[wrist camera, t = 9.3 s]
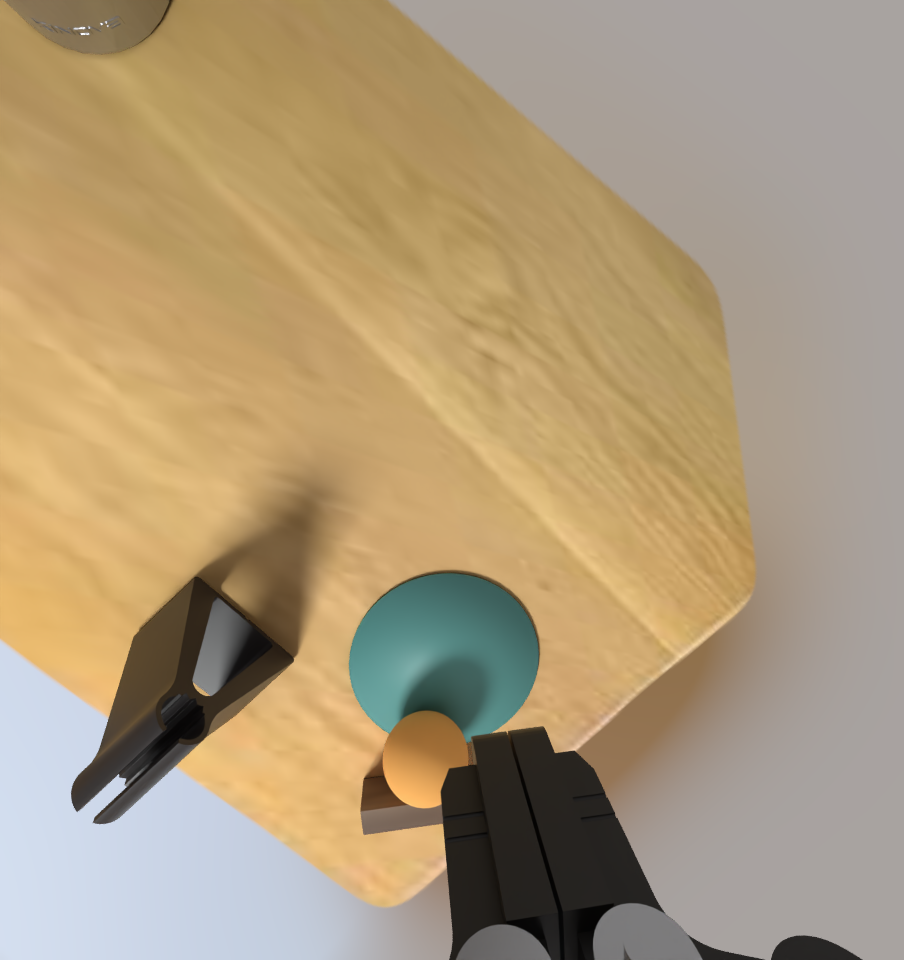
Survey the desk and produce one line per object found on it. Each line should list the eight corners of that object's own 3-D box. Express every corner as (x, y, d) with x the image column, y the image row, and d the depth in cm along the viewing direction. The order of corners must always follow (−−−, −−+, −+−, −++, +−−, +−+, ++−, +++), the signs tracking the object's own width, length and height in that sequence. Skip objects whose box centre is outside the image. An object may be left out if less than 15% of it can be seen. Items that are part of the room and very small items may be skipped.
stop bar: (363, 778, 39) (360, 811, 36) (467, 764, 40) (472, 795, 37) (366, 800, 39) (363, 835, 36) (468, 786, 40) (473, 819, 37)
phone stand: (295, 658, 37) (244, 792, 25) (236, 712, 37) (159, 869, 25) (197, 574, 35) (92, 677, 23) (136, 632, 35) (3, 761, 23)
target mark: (338, 584, 36) (337, 585, 35) (534, 563, 37) (534, 564, 36) (360, 756, 39) (360, 758, 38) (541, 732, 40) (542, 734, 39)
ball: (379, 701, 35) (374, 801, 31) (465, 696, 35) (470, 796, 31) (390, 726, 40) (387, 817, 36) (466, 722, 40) (471, 812, 36)
